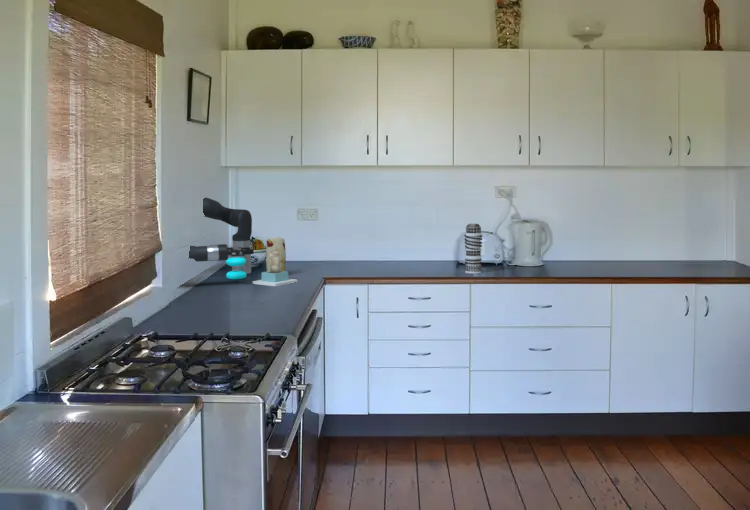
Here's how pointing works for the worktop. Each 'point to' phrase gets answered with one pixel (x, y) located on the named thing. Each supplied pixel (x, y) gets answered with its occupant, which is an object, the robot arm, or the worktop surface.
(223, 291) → the worktop surface
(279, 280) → the socket block
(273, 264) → the birch peg
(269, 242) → the food model
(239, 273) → the donuts
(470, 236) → the decorative candle
